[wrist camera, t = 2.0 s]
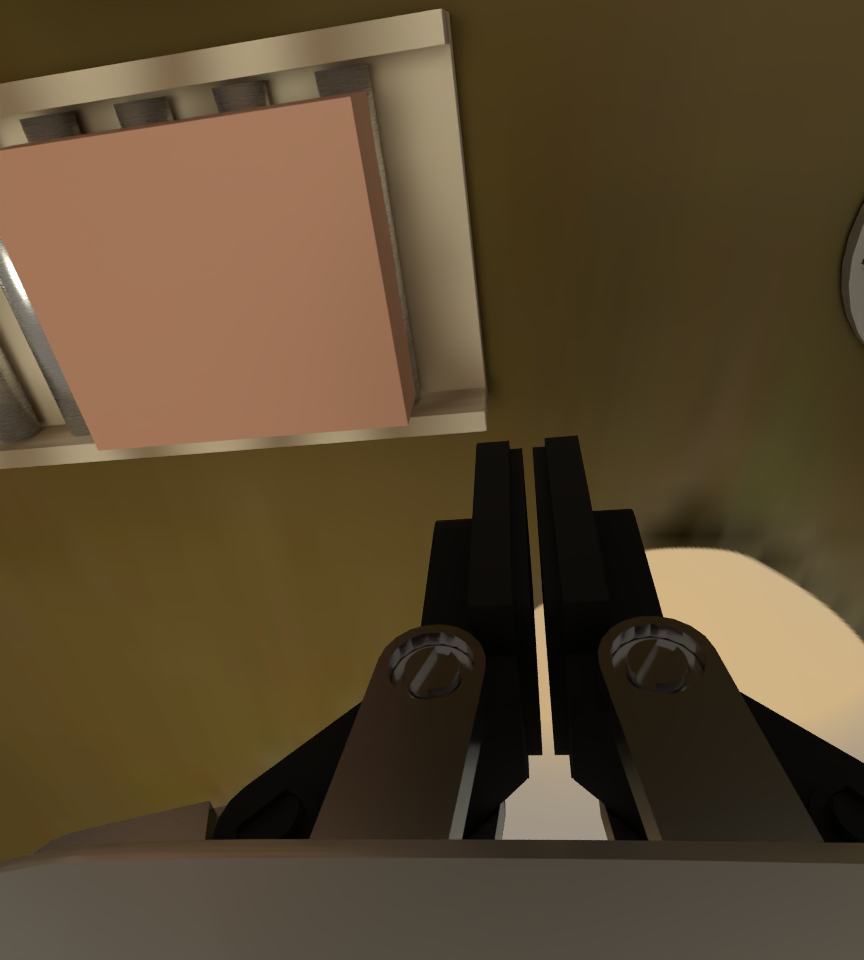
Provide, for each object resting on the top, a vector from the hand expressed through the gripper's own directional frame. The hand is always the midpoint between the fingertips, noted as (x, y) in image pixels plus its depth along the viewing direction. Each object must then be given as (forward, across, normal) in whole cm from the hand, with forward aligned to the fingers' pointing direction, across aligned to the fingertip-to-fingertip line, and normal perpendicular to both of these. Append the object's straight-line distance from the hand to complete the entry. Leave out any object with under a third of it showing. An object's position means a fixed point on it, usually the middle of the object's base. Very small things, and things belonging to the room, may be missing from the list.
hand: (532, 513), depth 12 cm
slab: (+18, +12, 0) cm, 22 cm away
